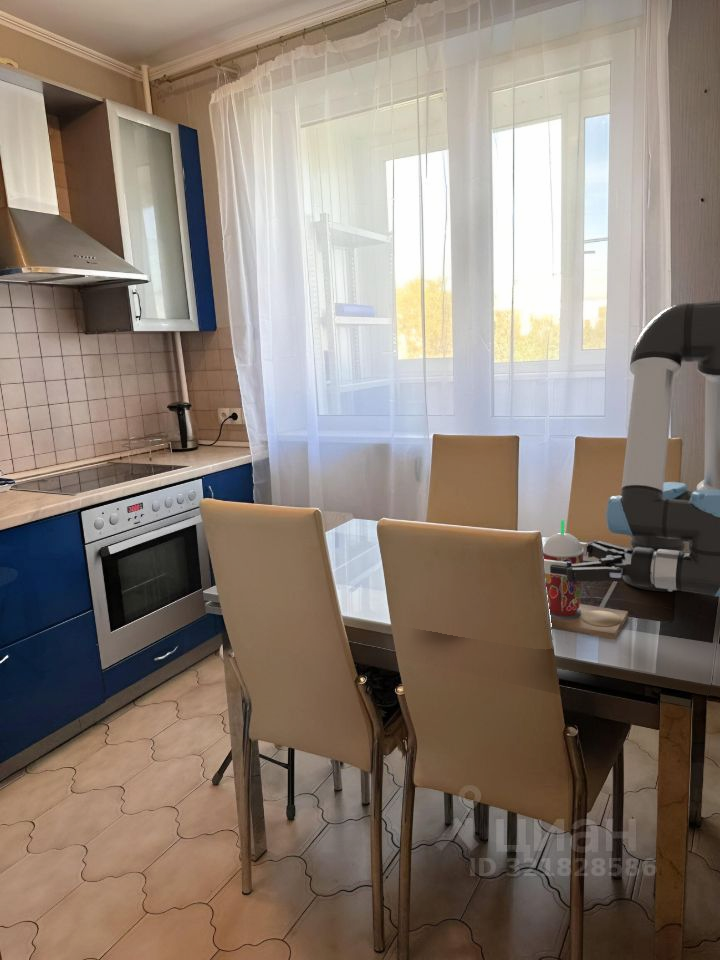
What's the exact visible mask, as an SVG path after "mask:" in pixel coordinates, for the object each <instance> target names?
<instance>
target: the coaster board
mask: <svg viewBox="0 0 720 960" xmlns="http://www.w3.org/2000/svg"><path fill="white" fill-rule="evenodd" d="M550 615H551V623H552V628H551V629H554V630H560V631H565V632H566V631H567V632H572V633H577V634H583V635H588V636H593V637H599V638H604V639H610V640H615V639H616V638H617V636H618V634H619V633H620V631H621V629H622V628H623V626H624V624H625V623H626V621H627V620H628V618H629V611H628V610H622V609H621V610H620V609H614V608H609V607H602V606H595V605H590V604H584V603H580V606H579V608H578V609H577V612H576V613H575V614H574V615H571V616H558V615H554V614H552V613H551V612H550Z"/></svg>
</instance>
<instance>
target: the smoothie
mask: <svg viewBox="0 0 720 960" xmlns="http://www.w3.org/2000/svg"><path fill="white" fill-rule="evenodd" d="M579 542H580V541H579V540H578V538H577V537H576V536H574V535H572V534H571V533H567V532H565V520H564V519H561V520H560V532H557V533H554V534H552V535H550V536H549V537H548V538H547V539H546V541H545V543H544V545H543V546H542V548H543V556H544V559H547V560H555V561H563V562H567V561H570V562H571V564H577V563H584V562H583V561H584V556H583V552H584V550H583V548H582V547H581V545H580V543H579ZM543 556H542V557H543ZM574 573H575V572H574ZM545 578H546V587H547V595H548V603H549V609H550V612H551V613H552V614H554V615H558V616H571V615H574V614H575V613H576V612H577V609H578V608H579V606H580V604H581V591H582V590H581V588H582V581H576V582H569V581H568V577H567V576H561V575H554V574H546V573H545Z"/></svg>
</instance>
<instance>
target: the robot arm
mask: <svg viewBox="0 0 720 960" xmlns="http://www.w3.org/2000/svg"><path fill="white" fill-rule="evenodd" d="M683 362H685V363H692V362H695V363H696V362H697V372H698V373H699V374H701V375H702V376H703V377H704V378H705V401H704V402H705V404H704V406H705V407H704V408H705V410H704V411H705V414H704V420H705V421H704V473H703V474H704V475H703V477H704V479H703V480H701V481H700V482H698V484H697V485H696V490H688V487H687V484H686V483H684V482H677V481H667V482H666V481H665V478H666V467H667V457H668V456H667V455H668V447H669V446H668V445H669V435H670V426H671V425H670V424H671V416H672V407H673V393H674V385H675V377H677V375H679V373H680V372H681V370H682V363H683ZM629 370H630V373H631V374H633V383H632V392H631V402H630V411H629V419H628V425H627V426H628V427H627V436H626V445H625V446H626V447H625V455H624V456H625V457H624V464H623V471H622V472H623V473H622V481H621V490H620V491H621V492H620V495H619V494H618V495H612V496H610V497H609V499H608V501H607V505H606V512H605V515H606V516H605V518H606V519H605V520H606V526H607V529H608V530H609V532H611V534H612V533H613V534H617V535H624V536H630V547H624V546H620V545H616V544H612V543H609V542H605V541H600V540H598V539H594V540H593V541H590V542H581V541H579V543H580V545H581V547H582V548H583V550H584V552H583V557H584V556H585V557H586V556H587V558H592V557H594V558H596V559H598V560H597V561H588V562H583V563H577V564H571V562H570V561H567V562H563V561H555V560H547V559H544V568H545V573H546V574H554V575H561V576H567V577H568V581H569V582H576V581H581V582H619V583H620V582H622V580H623V581H624V582H625V583H626V584H628V585H630V586H632V587H634V588H638V589H641V590H646V591H653V592H670V593H671V592H679V591H680V592H688V593H694V594H701V595H708V596H713V597H720V300H714V301H713V300H712V301H704V302H702V301H701V302H690V303H688V302H686V303H679V304H675V305H672V306H670V307H668V308H667V309H664V310H663V311H661V312H660V313H658V314H657V315H656V316H654V318H652V319H651V320H650V322H649V323H648V324H647V325H646V326H645V328H644V329H642V331H641V333H640V335H639V337H638V338H637V340H636V342H635V344H634V347H633V348H632V352H631V357H630V363H629ZM686 542H688V550H689V551H686ZM574 572H575V573H574Z"/></svg>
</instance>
